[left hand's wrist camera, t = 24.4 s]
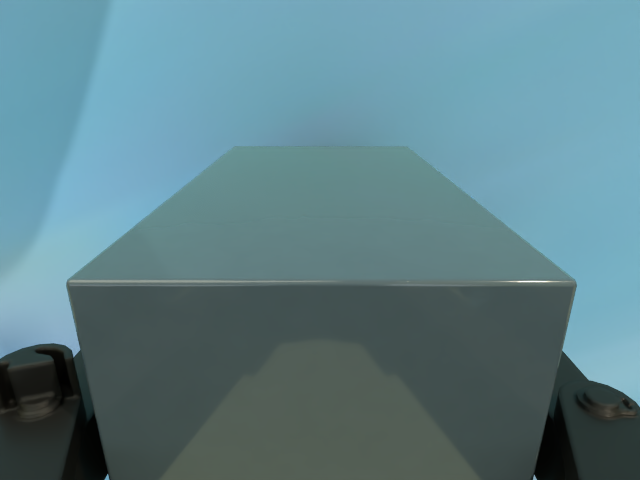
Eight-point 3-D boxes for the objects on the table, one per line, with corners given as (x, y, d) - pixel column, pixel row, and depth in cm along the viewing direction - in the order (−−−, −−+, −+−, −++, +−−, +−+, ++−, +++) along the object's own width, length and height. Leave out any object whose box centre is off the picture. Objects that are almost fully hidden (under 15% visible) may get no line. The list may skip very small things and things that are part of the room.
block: (245, 330, 19) (148, 661, 8) (232, 146, 16) (61, 280, 5) (395, 330, 19) (494, 662, 8) (408, 146, 16) (581, 281, 5)
